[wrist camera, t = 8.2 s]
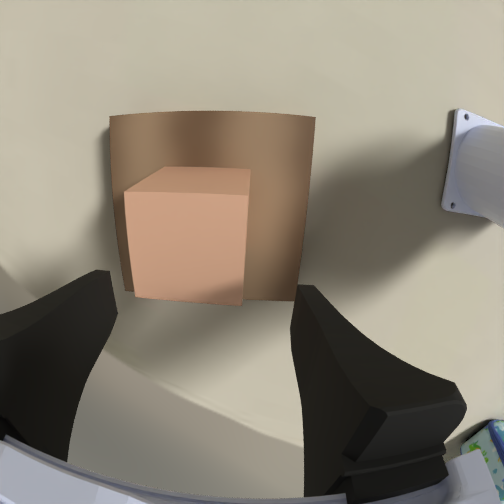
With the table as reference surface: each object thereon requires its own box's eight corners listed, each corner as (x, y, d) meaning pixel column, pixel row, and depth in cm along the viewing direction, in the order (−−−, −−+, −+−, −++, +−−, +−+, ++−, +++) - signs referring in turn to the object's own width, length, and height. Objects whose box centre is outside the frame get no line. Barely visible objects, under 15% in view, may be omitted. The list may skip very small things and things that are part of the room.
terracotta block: (250, 169, 17) (248, 195, 11) (245, 249, 19) (241, 305, 14) (164, 166, 17) (124, 191, 11) (167, 244, 19) (135, 296, 13)
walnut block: (306, 116, 18) (315, 117, 15) (290, 279, 23) (294, 301, 21) (128, 115, 18) (109, 116, 15) (138, 270, 23) (125, 290, 20)
